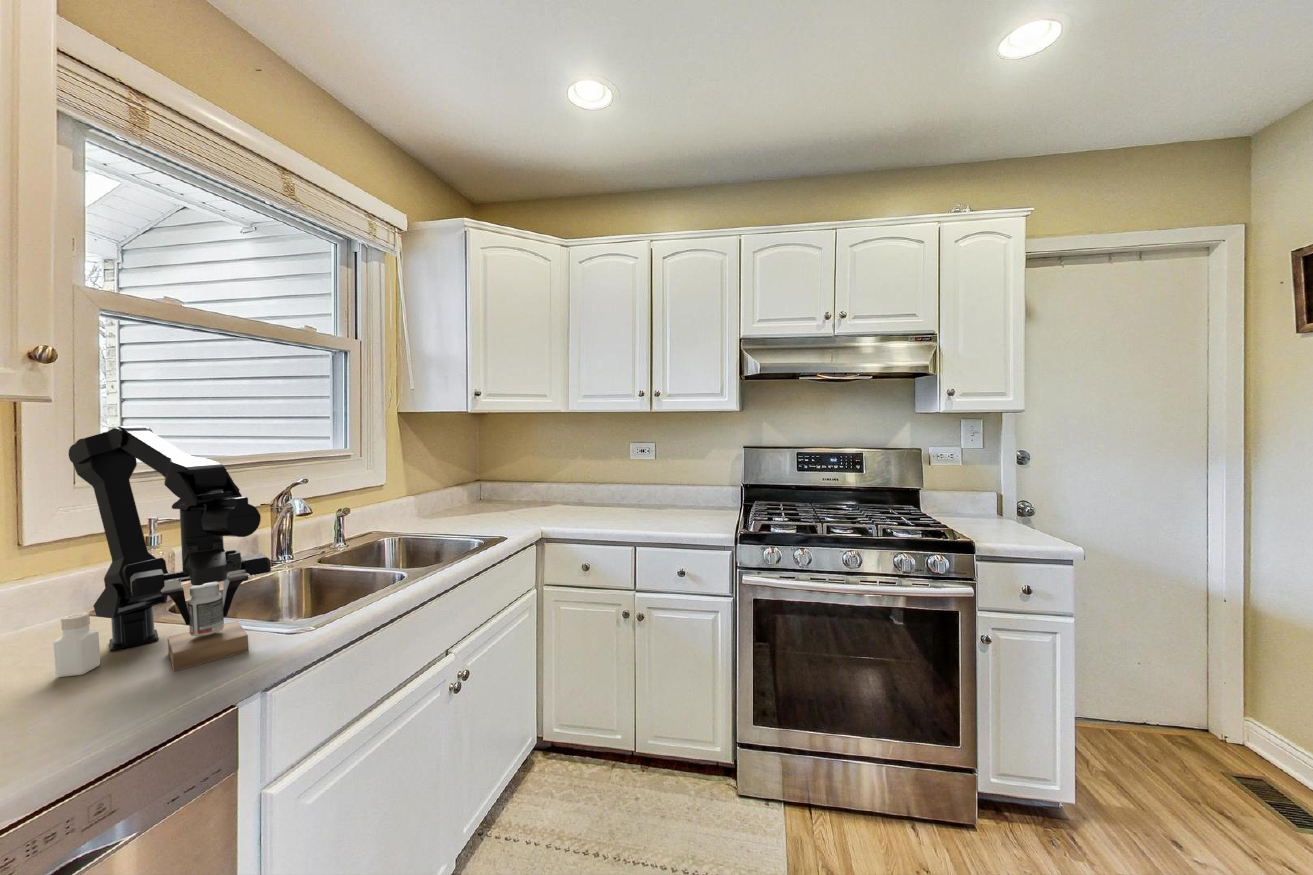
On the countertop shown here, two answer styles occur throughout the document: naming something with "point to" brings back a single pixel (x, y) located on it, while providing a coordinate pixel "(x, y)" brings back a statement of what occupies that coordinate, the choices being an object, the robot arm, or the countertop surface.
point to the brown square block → (207, 646)
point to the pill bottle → (205, 609)
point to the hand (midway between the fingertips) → (206, 620)
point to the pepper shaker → (76, 646)
